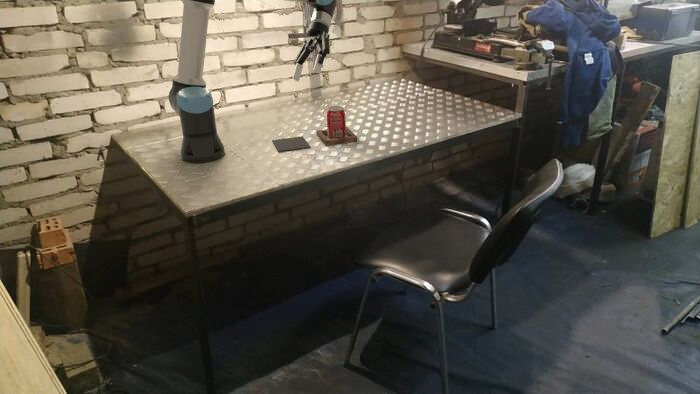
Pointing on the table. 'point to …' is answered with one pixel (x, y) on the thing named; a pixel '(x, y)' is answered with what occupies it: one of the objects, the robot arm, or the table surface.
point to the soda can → (336, 122)
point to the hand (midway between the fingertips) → (305, 76)
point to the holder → (336, 141)
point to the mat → (291, 144)
